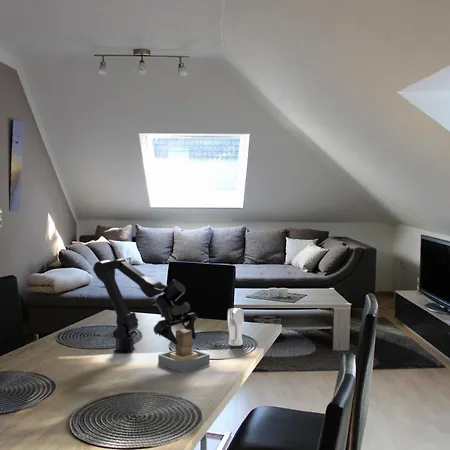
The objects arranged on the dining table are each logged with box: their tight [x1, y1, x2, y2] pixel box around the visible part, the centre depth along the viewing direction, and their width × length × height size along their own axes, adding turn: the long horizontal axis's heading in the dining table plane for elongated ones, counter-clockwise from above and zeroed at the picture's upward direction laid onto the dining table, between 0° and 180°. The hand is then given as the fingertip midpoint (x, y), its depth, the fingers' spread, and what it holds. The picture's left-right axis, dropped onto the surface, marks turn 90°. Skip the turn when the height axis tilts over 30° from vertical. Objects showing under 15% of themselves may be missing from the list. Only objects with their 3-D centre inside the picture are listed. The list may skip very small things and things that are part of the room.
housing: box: [157, 348, 211, 374], centre depth 211 cm, size 14×14×4 cm
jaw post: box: [175, 328, 193, 357], centre depth 210 cm, size 4×4×12 cm
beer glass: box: [227, 307, 245, 347], centre depth 234 cm, size 7×7×15 cm
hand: (186, 341), depth 209 cm, fingers open, 9 cm apart
